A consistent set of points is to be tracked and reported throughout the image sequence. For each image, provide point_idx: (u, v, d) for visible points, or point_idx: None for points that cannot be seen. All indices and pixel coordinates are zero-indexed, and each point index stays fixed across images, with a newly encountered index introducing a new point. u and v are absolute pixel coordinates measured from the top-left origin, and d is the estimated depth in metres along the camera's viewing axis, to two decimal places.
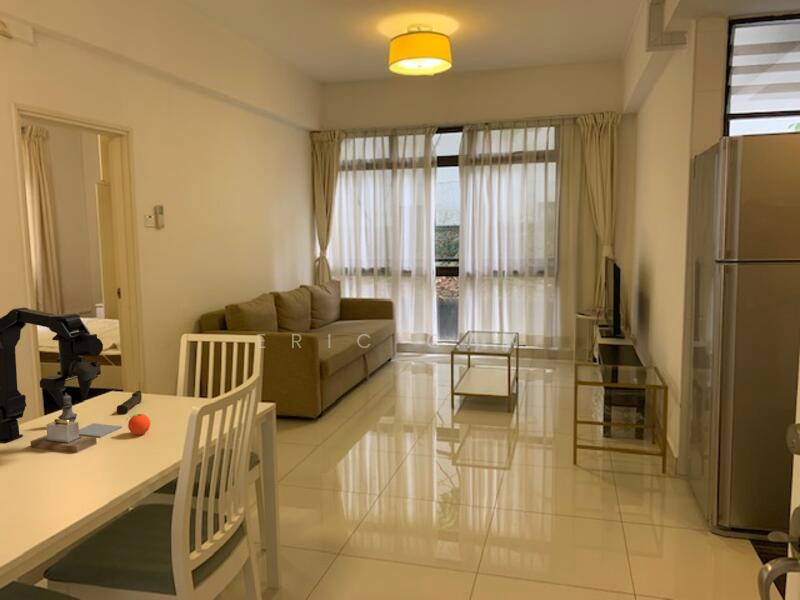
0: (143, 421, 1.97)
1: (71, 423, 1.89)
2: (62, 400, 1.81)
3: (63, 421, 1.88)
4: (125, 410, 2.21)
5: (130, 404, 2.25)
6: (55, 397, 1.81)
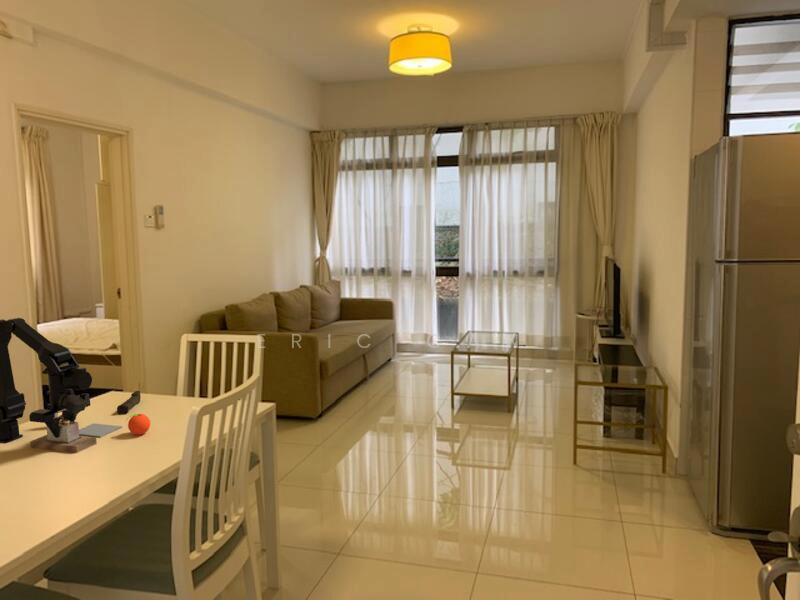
0: (143, 421, 1.97)
1: (71, 423, 1.89)
2: (57, 431, 1.86)
3: (63, 421, 1.88)
4: (126, 410, 2.21)
5: (130, 404, 2.25)
6: (50, 428, 1.86)
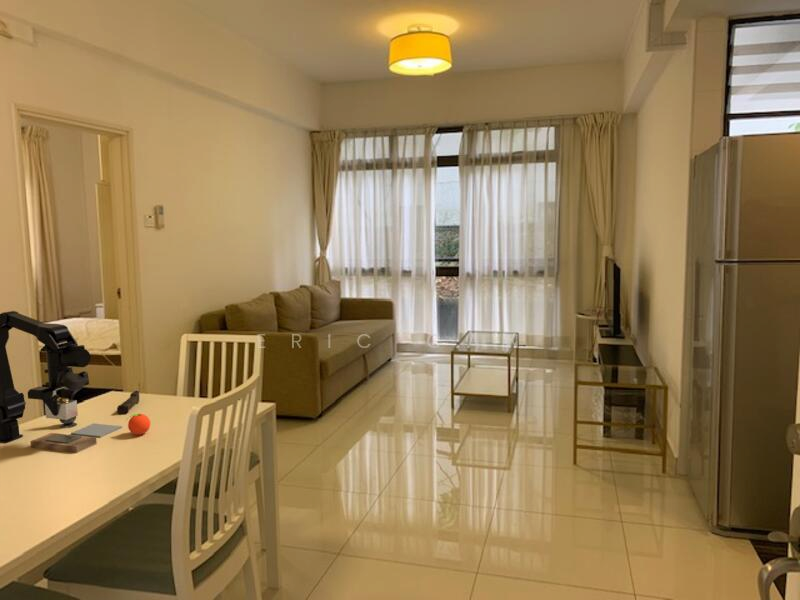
0: (143, 421, 1.97)
1: (70, 401, 1.88)
2: (56, 408, 1.85)
3: (62, 399, 1.87)
4: (126, 410, 2.21)
5: (130, 404, 2.25)
6: (49, 406, 1.85)
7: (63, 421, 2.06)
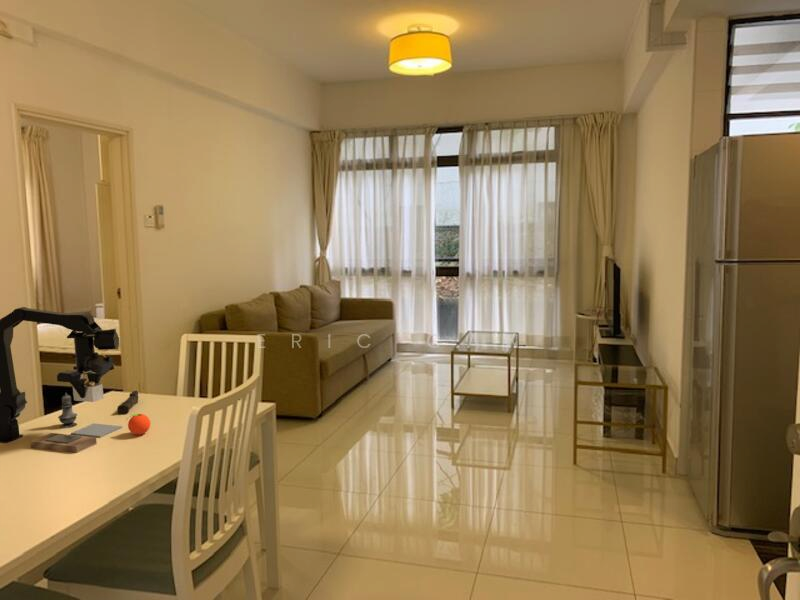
0: (143, 421, 1.97)
1: (96, 385, 1.98)
2: (83, 391, 1.96)
3: (88, 383, 1.97)
4: (126, 410, 2.21)
5: (130, 404, 2.25)
6: (77, 388, 1.95)
7: (63, 421, 2.06)
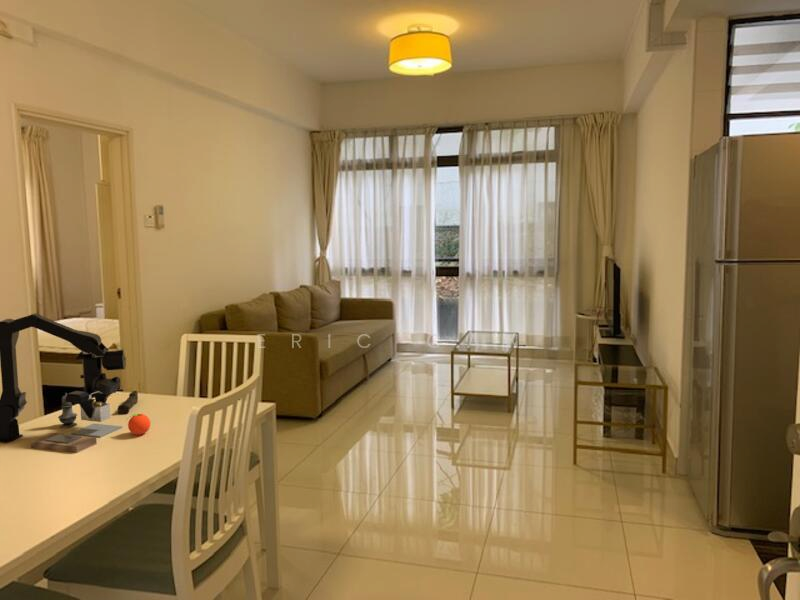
0: (143, 421, 1.97)
1: (103, 404, 2.02)
2: (91, 411, 1.99)
3: (96, 402, 2.01)
4: (126, 410, 2.21)
5: (130, 404, 2.25)
6: (84, 409, 1.99)
7: (63, 421, 2.06)
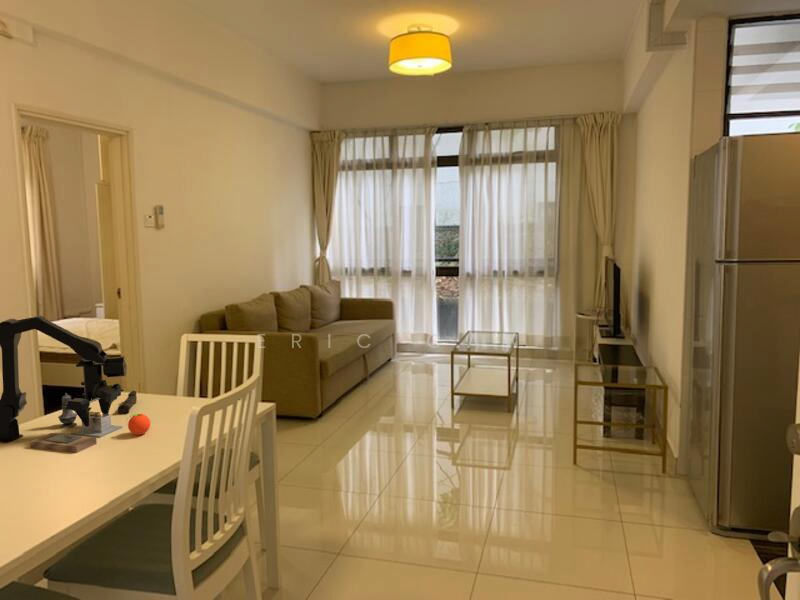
0: (143, 421, 1.97)
1: (104, 415, 2.02)
2: (88, 420, 1.98)
3: (97, 413, 2.02)
4: (127, 410, 2.21)
5: (130, 404, 2.25)
6: (81, 417, 1.98)
7: (63, 421, 2.06)
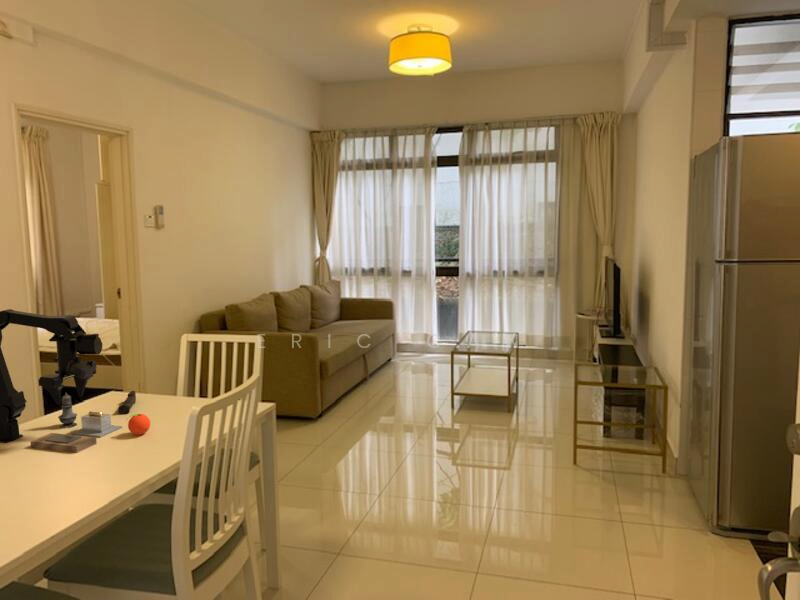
0: (143, 421, 1.97)
1: (104, 415, 2.02)
2: (59, 398, 1.90)
3: (97, 413, 2.02)
4: (127, 410, 2.21)
5: (130, 404, 2.26)
6: (53, 395, 1.90)
7: (63, 421, 2.06)
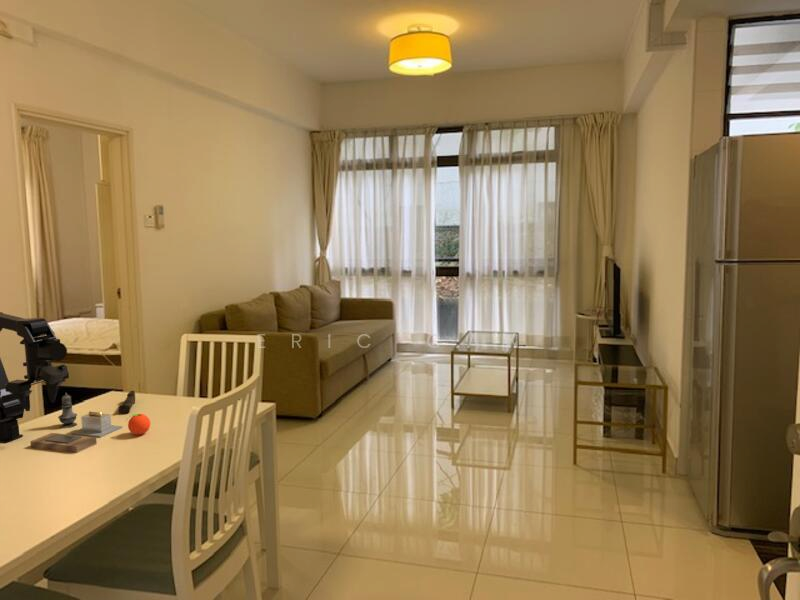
0: (143, 421, 1.97)
1: (104, 415, 2.02)
2: (28, 404, 1.83)
3: (97, 413, 2.02)
4: (128, 410, 2.21)
5: (130, 404, 2.26)
6: (21, 401, 1.82)
7: (63, 421, 2.06)
